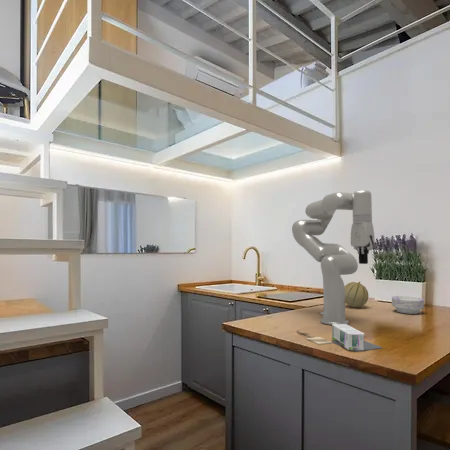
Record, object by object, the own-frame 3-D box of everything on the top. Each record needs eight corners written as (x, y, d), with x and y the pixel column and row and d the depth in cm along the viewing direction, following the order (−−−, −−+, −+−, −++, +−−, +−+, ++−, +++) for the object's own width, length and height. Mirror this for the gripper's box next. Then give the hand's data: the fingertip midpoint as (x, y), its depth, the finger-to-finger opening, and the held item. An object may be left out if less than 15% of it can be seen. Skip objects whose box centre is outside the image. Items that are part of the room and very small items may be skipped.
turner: (292, 333, 142) (292, 331, 142) (304, 331, 144) (304, 329, 144) (318, 344, 125) (318, 342, 125) (332, 343, 127) (332, 341, 127)
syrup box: (331, 323, 132) (348, 333, 117) (346, 323, 132) (364, 333, 118) (331, 338, 132) (348, 350, 117) (346, 338, 132) (364, 350, 118)
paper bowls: (430, 315, 177) (429, 299, 178) (400, 315, 177) (400, 299, 178) (414, 309, 192) (414, 295, 193) (387, 309, 193) (386, 295, 193)
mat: (330, 341, 129) (330, 341, 129) (356, 338, 133) (356, 338, 133) (355, 352, 117) (355, 351, 117) (382, 348, 121) (382, 347, 121)
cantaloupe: (337, 305, 206) (337, 280, 207) (360, 305, 208) (360, 280, 209) (348, 310, 191) (348, 283, 192) (373, 309, 193) (373, 282, 194)
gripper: (343, 221, 151) (344, 262, 150) (366, 218, 137) (367, 264, 136) (358, 221, 153) (359, 262, 152) (382, 219, 139) (383, 264, 138)
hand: (363, 263), depth 144 cm, fingers closed
